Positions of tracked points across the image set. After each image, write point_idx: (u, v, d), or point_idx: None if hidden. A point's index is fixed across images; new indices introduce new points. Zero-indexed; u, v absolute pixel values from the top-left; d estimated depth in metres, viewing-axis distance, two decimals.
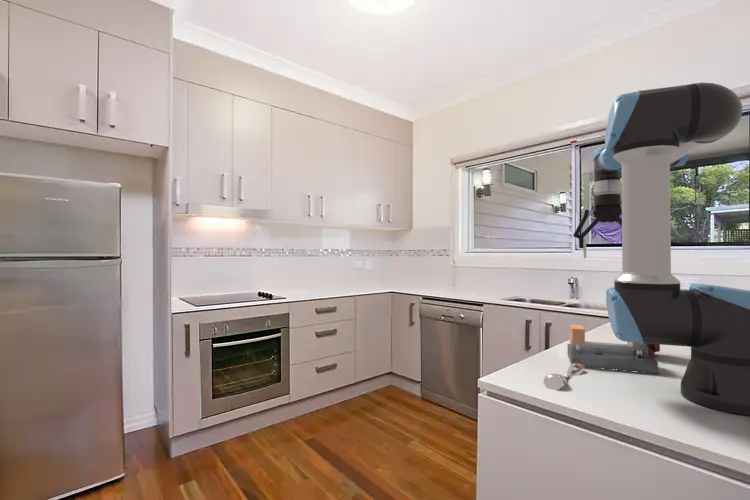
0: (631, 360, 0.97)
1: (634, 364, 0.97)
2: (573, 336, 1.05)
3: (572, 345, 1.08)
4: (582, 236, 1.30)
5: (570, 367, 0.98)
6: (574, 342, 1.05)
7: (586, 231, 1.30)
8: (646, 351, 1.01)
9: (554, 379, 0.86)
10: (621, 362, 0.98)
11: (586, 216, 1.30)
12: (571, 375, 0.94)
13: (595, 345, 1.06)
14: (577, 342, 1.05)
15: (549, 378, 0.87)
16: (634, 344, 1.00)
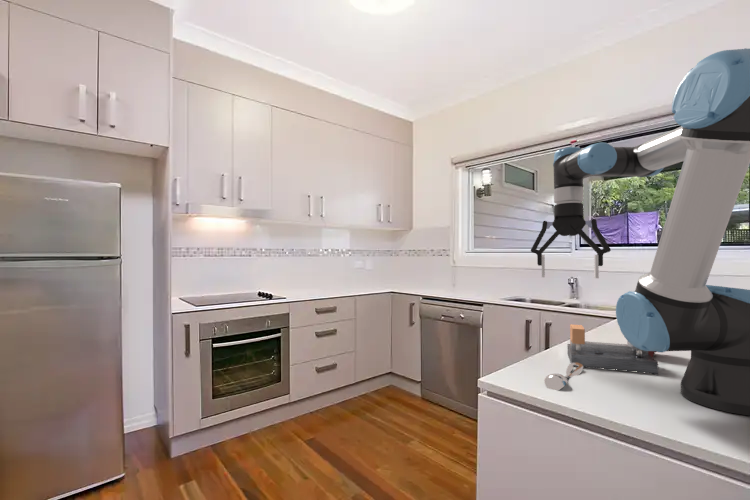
0: (631, 360, 0.97)
1: (634, 364, 0.97)
2: (573, 336, 1.05)
3: (572, 345, 1.08)
4: (540, 252, 1.12)
5: (569, 367, 0.98)
6: (574, 342, 1.05)
7: (544, 246, 1.12)
8: (646, 351, 1.01)
9: (555, 379, 0.86)
10: (621, 362, 0.98)
11: (544, 228, 1.12)
12: (570, 375, 0.94)
13: (595, 345, 1.06)
14: (577, 342, 1.05)
15: (550, 378, 0.87)
16: None
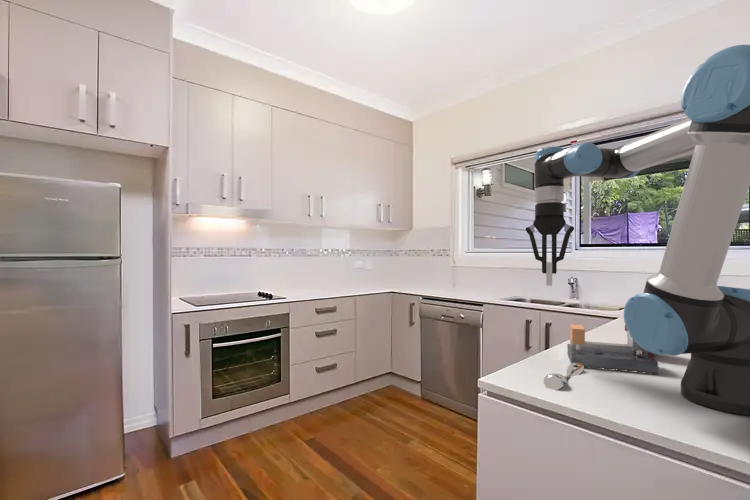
0: (631, 360, 0.97)
1: (634, 364, 0.97)
2: (573, 336, 1.05)
3: (572, 345, 1.08)
4: (544, 259, 1.10)
5: (569, 367, 0.98)
6: (574, 342, 1.05)
7: (543, 252, 1.10)
8: (646, 351, 1.01)
9: (554, 379, 0.86)
10: (621, 362, 0.98)
11: (531, 234, 1.11)
12: (571, 375, 0.94)
13: (595, 345, 1.06)
14: (577, 342, 1.05)
15: (549, 378, 0.87)
16: (634, 344, 1.00)
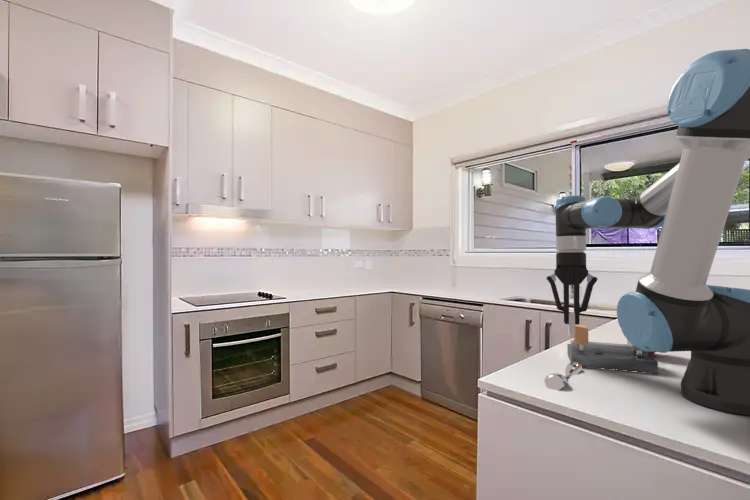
0: (631, 360, 0.97)
1: (634, 364, 0.97)
2: (576, 336, 1.05)
3: (572, 345, 1.08)
4: (566, 309, 1.07)
5: (568, 367, 0.99)
6: (577, 342, 1.05)
7: (566, 302, 1.07)
8: (646, 351, 1.01)
9: (555, 379, 0.86)
10: (621, 362, 0.98)
11: (553, 283, 1.09)
12: (570, 375, 0.94)
13: (595, 345, 1.06)
14: (581, 342, 1.04)
15: (550, 378, 0.87)
16: None
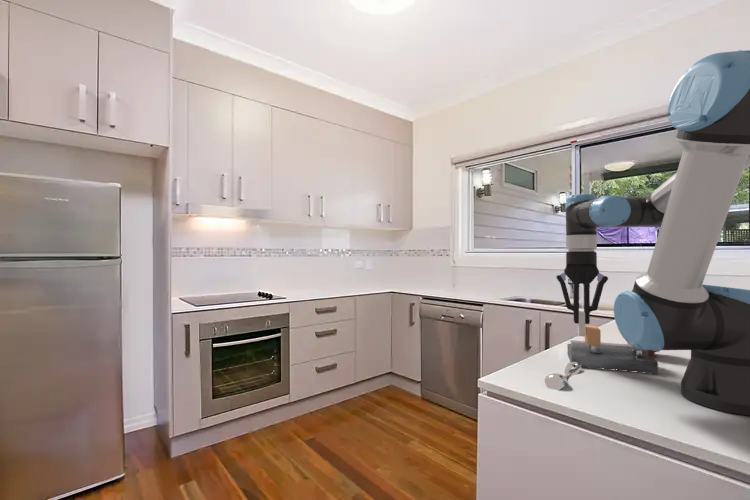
0: (631, 360, 0.97)
1: (634, 364, 0.97)
2: (588, 337, 1.04)
3: (572, 345, 1.08)
4: (576, 308, 1.07)
5: (567, 366, 0.99)
6: (589, 343, 1.03)
7: (576, 301, 1.07)
8: (646, 351, 1.01)
9: (555, 379, 0.86)
10: (621, 362, 0.98)
11: (563, 282, 1.08)
12: (569, 374, 0.94)
13: None
14: (593, 343, 1.03)
15: (550, 378, 0.87)
16: None
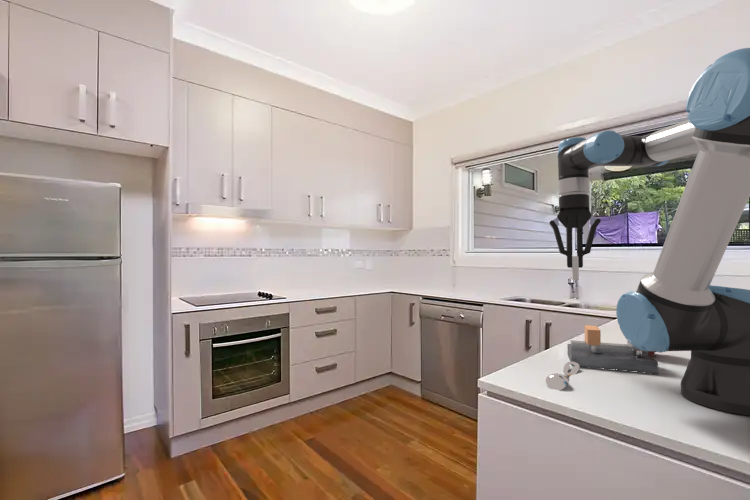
0: (631, 360, 0.97)
1: (634, 364, 0.97)
2: (588, 337, 1.04)
3: (572, 345, 1.08)
4: (570, 252, 1.07)
5: (565, 366, 0.99)
6: (589, 343, 1.03)
7: (569, 245, 1.07)
8: (646, 351, 1.01)
9: (557, 379, 0.86)
10: (621, 362, 0.98)
11: (556, 227, 1.08)
12: (568, 374, 0.95)
13: None
14: (593, 343, 1.03)
15: (551, 378, 0.87)
16: None
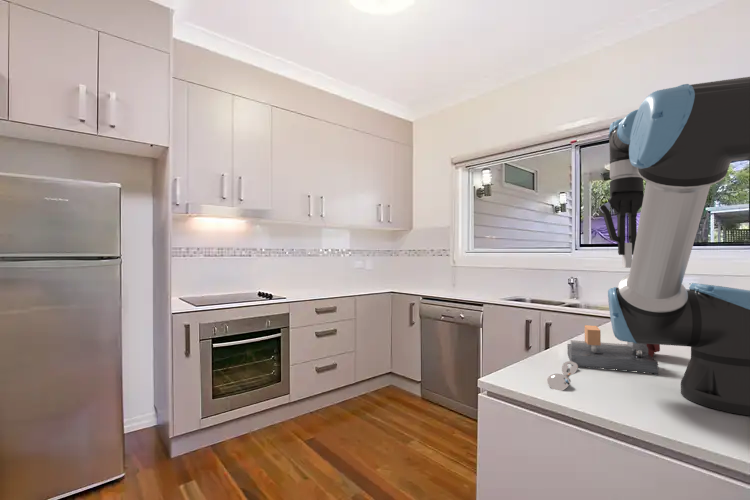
0: (631, 360, 0.97)
1: (634, 364, 0.97)
2: (588, 337, 1.04)
3: (572, 345, 1.08)
4: (622, 239, 1.01)
5: (564, 366, 0.99)
6: (589, 343, 1.03)
7: (622, 231, 1.01)
8: (646, 351, 1.01)
9: (558, 379, 0.86)
10: (621, 362, 0.98)
11: (608, 212, 1.03)
12: (568, 374, 0.95)
13: None
14: (593, 343, 1.03)
15: (553, 378, 0.87)
16: (634, 344, 1.00)
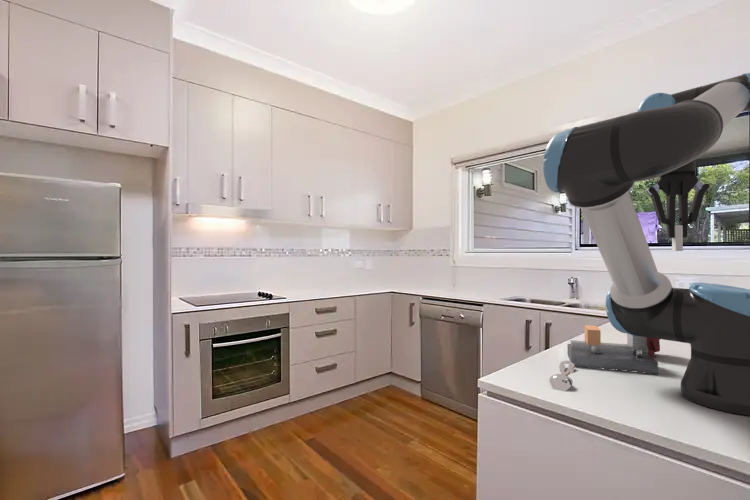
0: (631, 360, 0.97)
1: (634, 364, 0.97)
2: (588, 337, 1.04)
3: (572, 345, 1.08)
4: (672, 221, 0.98)
5: (561, 365, 1.00)
6: (589, 343, 1.03)
7: (672, 213, 0.98)
8: (646, 351, 1.01)
9: (561, 380, 0.86)
10: (621, 362, 0.98)
11: (656, 194, 1.00)
12: (566, 374, 0.95)
13: None
14: (593, 343, 1.03)
15: (555, 379, 0.86)
16: (634, 344, 1.00)
